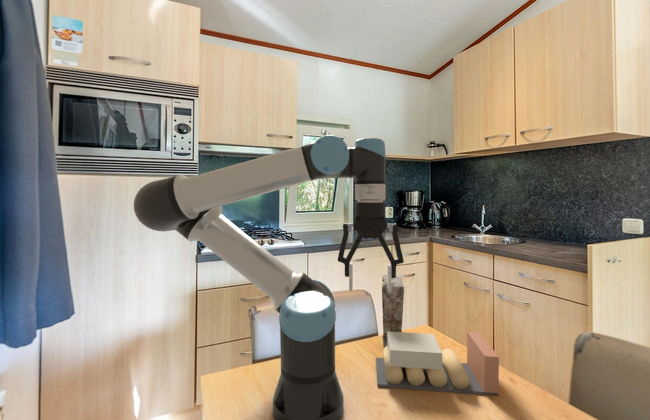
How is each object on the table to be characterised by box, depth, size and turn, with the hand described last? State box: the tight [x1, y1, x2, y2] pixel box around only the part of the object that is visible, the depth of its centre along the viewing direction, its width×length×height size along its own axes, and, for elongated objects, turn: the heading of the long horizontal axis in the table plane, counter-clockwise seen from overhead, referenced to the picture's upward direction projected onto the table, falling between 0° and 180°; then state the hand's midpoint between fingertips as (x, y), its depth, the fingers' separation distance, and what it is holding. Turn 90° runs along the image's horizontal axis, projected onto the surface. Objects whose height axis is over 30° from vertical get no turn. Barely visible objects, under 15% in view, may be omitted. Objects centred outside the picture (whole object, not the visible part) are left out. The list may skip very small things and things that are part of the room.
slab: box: [387, 331, 442, 370], centre depth 77 cm, size 12×10×4 cm
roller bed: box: [375, 346, 499, 396], centre depth 77 cm, size 27×12×5 cm, turn 82°
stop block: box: [466, 332, 500, 396], centre depth 75 cm, size 3×12×9 cm, turn 172°
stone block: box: [381, 274, 405, 349], centre depth 93 cm, size 13×7×20 cm, turn 176°
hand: (370, 289), depth 78 cm, fingers open, 9 cm apart
